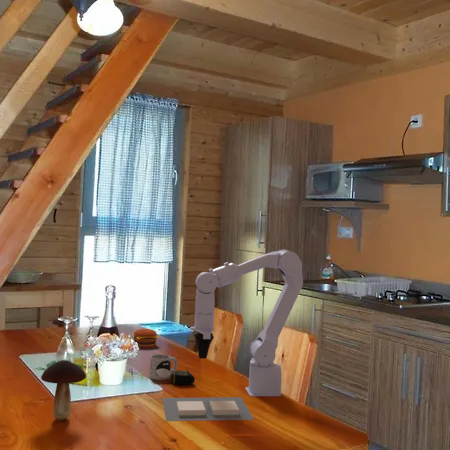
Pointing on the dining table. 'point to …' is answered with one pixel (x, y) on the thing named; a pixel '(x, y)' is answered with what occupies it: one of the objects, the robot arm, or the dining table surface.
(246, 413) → the mat
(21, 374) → the dining table surface
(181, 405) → the tile
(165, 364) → the mug
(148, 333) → the hamburger
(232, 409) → the tile
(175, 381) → the tape measure
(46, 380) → the decorative mushroom
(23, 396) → the dining table surface
